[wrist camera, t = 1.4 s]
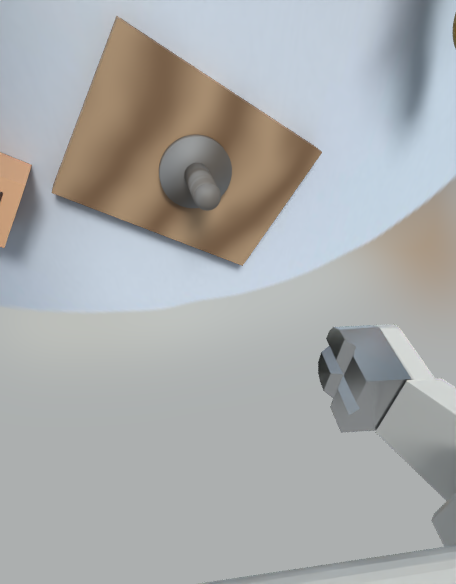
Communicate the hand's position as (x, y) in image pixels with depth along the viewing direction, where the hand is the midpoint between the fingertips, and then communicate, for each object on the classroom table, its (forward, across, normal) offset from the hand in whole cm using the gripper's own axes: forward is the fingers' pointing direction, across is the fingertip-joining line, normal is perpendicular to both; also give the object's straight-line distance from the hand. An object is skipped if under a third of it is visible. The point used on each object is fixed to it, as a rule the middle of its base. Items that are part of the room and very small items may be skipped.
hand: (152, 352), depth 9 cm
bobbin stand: (+29, -3, +7) cm, 30 cm away
